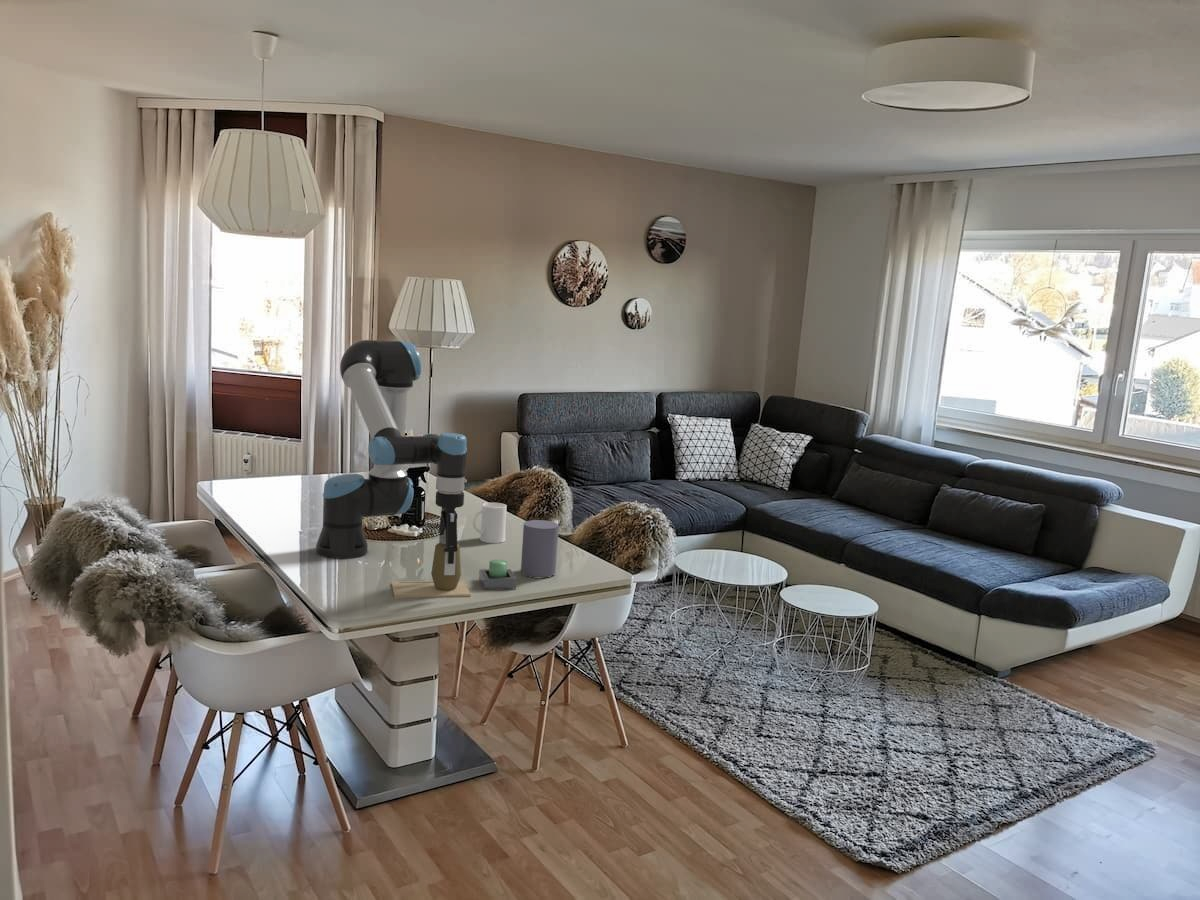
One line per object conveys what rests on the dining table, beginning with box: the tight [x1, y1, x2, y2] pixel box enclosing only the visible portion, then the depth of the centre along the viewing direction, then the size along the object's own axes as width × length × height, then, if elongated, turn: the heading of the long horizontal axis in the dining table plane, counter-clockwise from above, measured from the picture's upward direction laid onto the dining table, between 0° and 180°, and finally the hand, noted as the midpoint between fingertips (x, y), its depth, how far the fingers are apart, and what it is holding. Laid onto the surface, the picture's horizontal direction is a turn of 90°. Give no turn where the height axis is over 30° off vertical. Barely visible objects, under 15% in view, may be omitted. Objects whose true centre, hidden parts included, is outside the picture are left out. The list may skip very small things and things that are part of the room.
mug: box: [472, 502, 508, 544], centre depth 302 cm, size 12×8×12 cm
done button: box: [488, 559, 508, 578], centre depth 256 cm, size 5×5×5 cm
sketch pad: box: [391, 580, 471, 599], centre depth 248 cm, size 20×12×1 cm, turn 106°
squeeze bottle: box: [430, 530, 462, 590], centre depth 247 cm, size 8×8×18 cm
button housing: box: [478, 568, 517, 591], centre depth 257 cm, size 9×9×3 cm
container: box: [520, 519, 560, 578], centre depth 269 cm, size 10×10×15 cm
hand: (446, 567), depth 248 cm, fingers open, 13 cm apart
